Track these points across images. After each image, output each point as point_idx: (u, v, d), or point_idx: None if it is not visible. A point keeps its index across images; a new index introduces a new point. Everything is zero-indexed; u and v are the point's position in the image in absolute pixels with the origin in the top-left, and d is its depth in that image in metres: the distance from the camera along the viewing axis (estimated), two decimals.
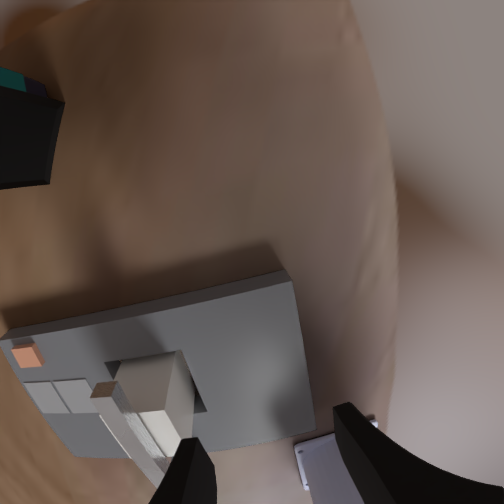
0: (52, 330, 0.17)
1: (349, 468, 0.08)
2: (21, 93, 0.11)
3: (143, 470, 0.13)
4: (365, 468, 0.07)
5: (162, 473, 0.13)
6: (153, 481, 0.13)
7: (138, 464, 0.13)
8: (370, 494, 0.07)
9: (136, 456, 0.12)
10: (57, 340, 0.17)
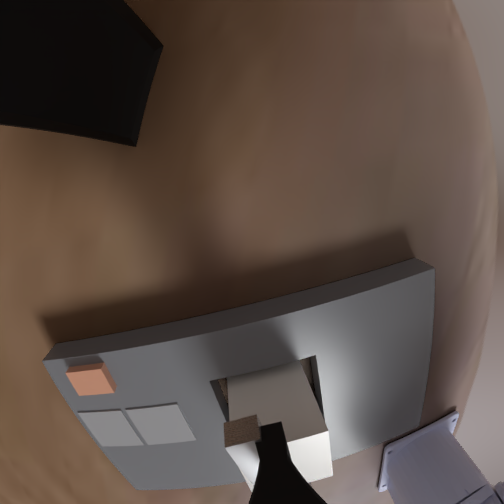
0: (132, 344, 0.14)
1: None
2: (127, 10, 0.08)
3: None
4: None
5: None
6: None
7: None
8: None
9: None
10: (141, 358, 0.14)
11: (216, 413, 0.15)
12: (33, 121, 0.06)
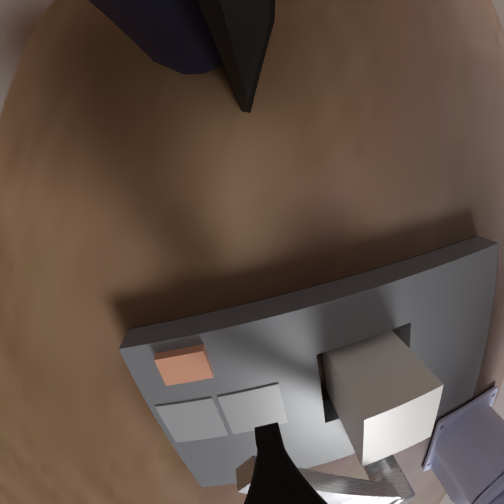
0: (240, 321, 0.14)
1: None
2: None
3: None
4: None
5: (361, 496, 0.10)
6: None
7: None
8: None
9: None
10: (250, 334, 0.14)
11: (315, 389, 0.15)
12: (233, 44, 0.06)
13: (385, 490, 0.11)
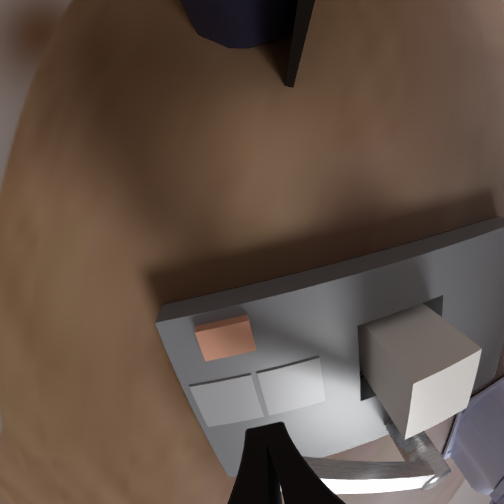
0: (284, 290, 0.14)
1: None
2: None
3: (375, 491, 0.10)
4: None
5: (394, 479, 0.10)
6: (393, 489, 0.10)
7: (366, 492, 0.10)
8: None
9: (358, 489, 0.10)
10: (295, 304, 0.14)
11: (353, 364, 0.15)
12: (309, 8, 0.06)
13: (419, 469, 0.11)
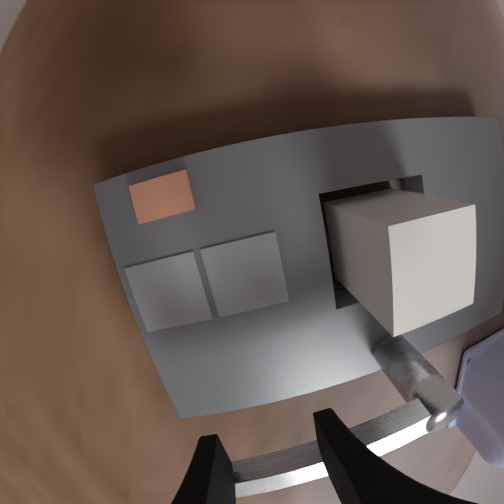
0: None
1: (330, 474, 0.08)
2: None
3: None
4: (342, 476, 0.07)
5: None
6: None
7: (326, 474, 0.09)
8: (348, 502, 0.06)
9: (306, 477, 0.09)
10: (240, 158, 0.12)
11: (320, 248, 0.13)
12: None
13: (399, 421, 0.10)
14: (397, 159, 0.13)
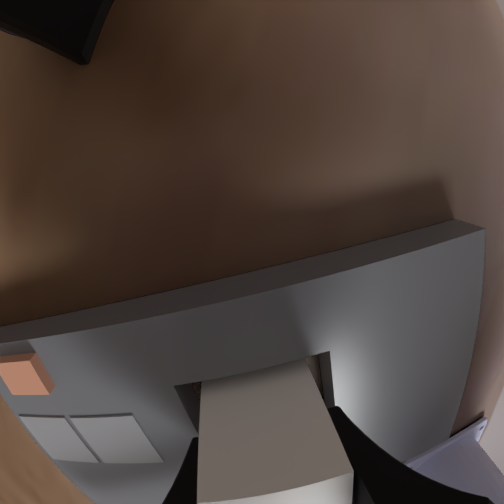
0: (69, 329, 0.09)
1: None
2: None
3: None
4: None
5: None
6: None
7: None
8: (356, 499, 0.06)
9: None
10: (79, 348, 0.09)
11: (187, 429, 0.10)
12: None
13: None
14: (287, 340, 0.10)
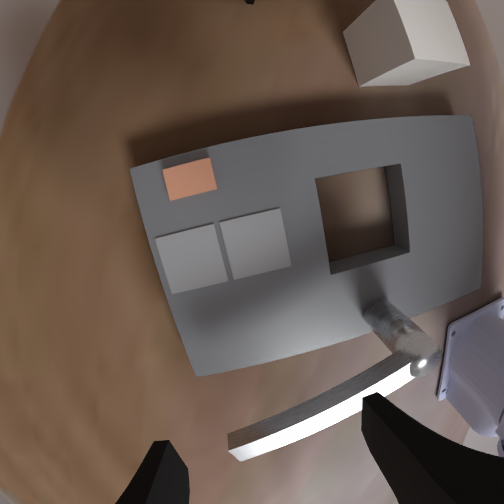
0: None
1: (377, 457, 0.08)
2: None
3: (345, 416, 0.13)
4: (399, 454, 0.07)
5: (346, 401, 0.13)
6: None
7: (333, 422, 0.13)
8: (402, 481, 0.07)
9: (317, 426, 0.13)
10: (252, 149, 0.15)
11: (316, 223, 0.16)
12: None
13: (384, 370, 0.13)
14: (379, 151, 0.16)
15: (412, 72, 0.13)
